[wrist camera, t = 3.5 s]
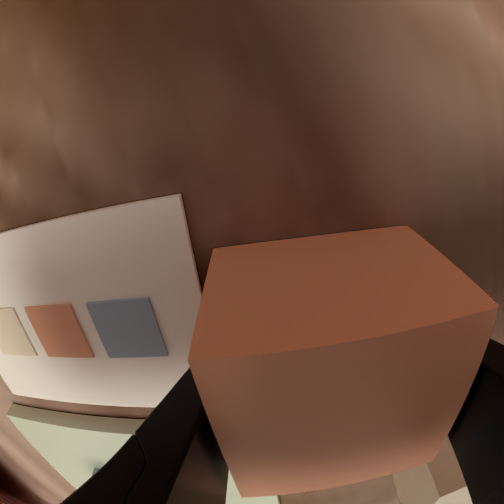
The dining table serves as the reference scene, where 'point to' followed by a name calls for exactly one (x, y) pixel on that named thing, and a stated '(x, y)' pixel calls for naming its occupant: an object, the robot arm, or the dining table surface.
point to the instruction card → (99, 304)
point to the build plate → (89, 444)
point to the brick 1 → (335, 356)
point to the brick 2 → (433, 481)
